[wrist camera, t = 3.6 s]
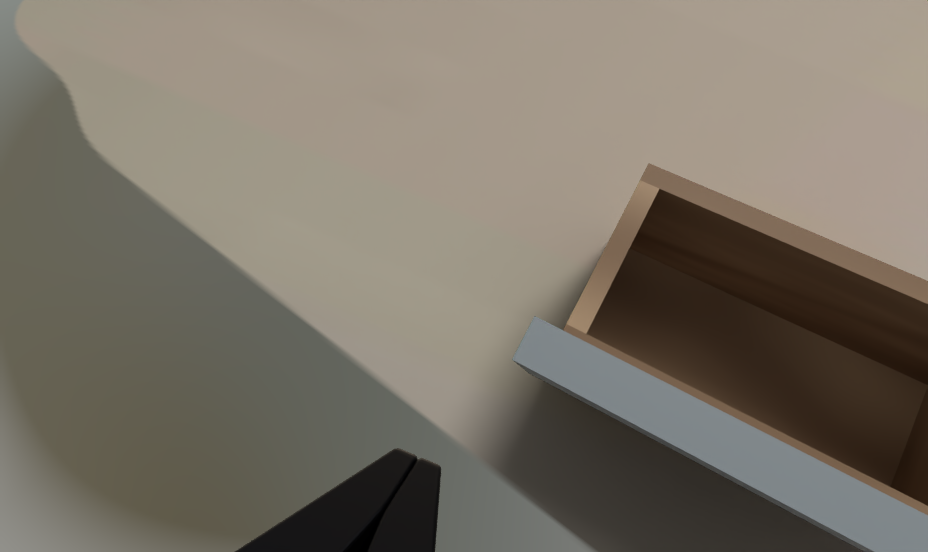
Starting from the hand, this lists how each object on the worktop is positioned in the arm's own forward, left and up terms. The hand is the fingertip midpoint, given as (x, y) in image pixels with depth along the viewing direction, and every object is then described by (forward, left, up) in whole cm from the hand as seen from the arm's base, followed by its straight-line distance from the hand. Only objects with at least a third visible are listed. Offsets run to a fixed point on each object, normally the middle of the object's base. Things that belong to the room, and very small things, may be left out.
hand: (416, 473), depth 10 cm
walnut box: (+7, -7, -12) cm, 15 cm away
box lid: (+3, -7, -2) cm, 8 cm away
